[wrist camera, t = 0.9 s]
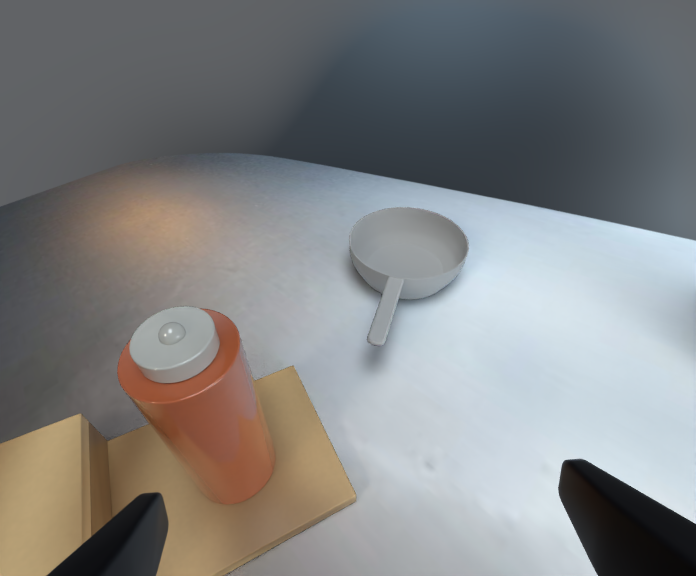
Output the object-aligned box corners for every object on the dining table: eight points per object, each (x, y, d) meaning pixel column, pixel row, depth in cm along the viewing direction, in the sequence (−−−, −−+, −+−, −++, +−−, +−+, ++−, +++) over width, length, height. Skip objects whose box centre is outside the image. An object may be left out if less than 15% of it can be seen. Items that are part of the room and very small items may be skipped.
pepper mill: (258, 513, 21) (194, 392, 13) (179, 494, 22) (68, 367, 14) (286, 432, 25) (251, 292, 16) (217, 417, 26) (147, 276, 17)
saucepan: (465, 245, 40) (473, 213, 38) (445, 392, 28) (455, 360, 25) (365, 228, 43) (366, 197, 40) (305, 357, 30) (301, 325, 28)
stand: (294, 372, 29) (287, 334, 26) (356, 501, 23) (357, 470, 20) (-111, 540, 22) (-190, 515, 18) (-192, 807, 15) (-334, 837, 12)
